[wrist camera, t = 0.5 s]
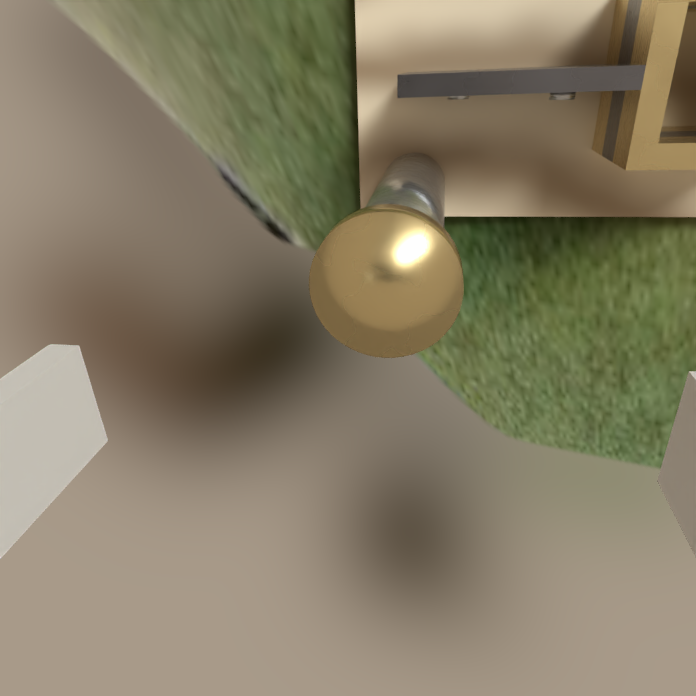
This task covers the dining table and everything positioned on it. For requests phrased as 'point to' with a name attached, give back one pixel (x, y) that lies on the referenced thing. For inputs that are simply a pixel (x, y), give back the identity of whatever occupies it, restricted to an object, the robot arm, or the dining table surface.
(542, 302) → the dining table surface
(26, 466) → the robot arm
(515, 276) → the dining table surface
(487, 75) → the hinge
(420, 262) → the hinge pin
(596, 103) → the mounting board
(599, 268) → the dining table surface
